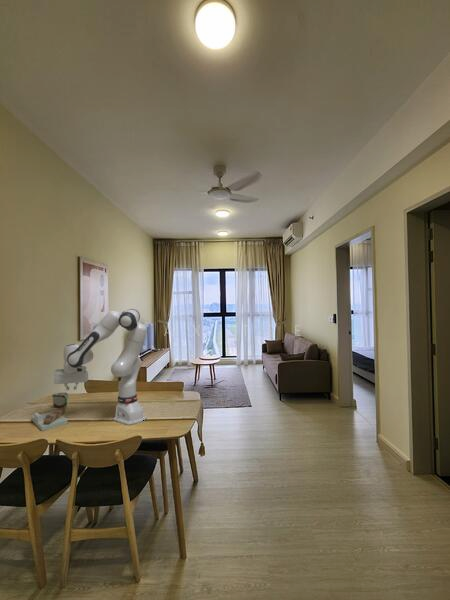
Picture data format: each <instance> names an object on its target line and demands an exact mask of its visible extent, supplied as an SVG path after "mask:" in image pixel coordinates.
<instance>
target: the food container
mask: <svg viewBox="0 0 450 600" xmlns="http://www.w3.org/2000/svg"><path fill="white" fill-rule="evenodd" d="M51 398H52V405H53V409H56V410H57V409H59V408H65V410H67V405H68V398H69V394H68V393H67V392H57V393H56V392H55V393H52V395H51Z"/></svg>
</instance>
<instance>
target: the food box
mask: <svg viewBox="0 0 450 600" xmlns="http://www.w3.org/2000/svg"><path fill="white" fill-rule="evenodd" d="M56 410H57V409H55V410H51V411H47V412H44V413H38V412H35V413H34V414H33V415H32V416H31V421H32V422H33V423H34V424H35V425H36V426H37V428H38V429H39V430H40V431H41V432H44V431H49V430H51V429H54V428H58V427H62V426H65V425H68V424H69V423H68V421H69V420H68V418H66V417H64V416H63V415H62V416H60V417H59V418H57V419H56V420H55V421H53V422H52V423H50V424H44V418H45V417H46V416H47V415H50V414H51V413H53V412H54V411H56Z"/></svg>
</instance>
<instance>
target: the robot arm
mask: <svg viewBox="0 0 450 600" xmlns="http://www.w3.org/2000/svg"><path fill="white" fill-rule="evenodd" d="M140 318H141V314H140V312H139V311H138V310H137V309H134V308H129V309H126V310H124V311H122V312H119V311H118V310H110V311H109V312H107V313H106V314H105V315H104V316H103V317H102V319H101V320H100V321H99V322H98V323H97V324H96V326H95V328H94V329H93V330H92V331H91V332H90V334H89V335H87V337H86V338H85V339H84V340H83V341H82V343H81V344H78V343H72V344H68V345H66V346H65V347H64V349H63V360H64V361H63V368H61V369H55V370H54V372H53V376H54V379H53V384H54V385H60V384H61V385H62V384H63V385H64V386H65V390H66V391H70V386H68V384H75V386H73V390H74V391H75V390H77V386H78V385H79V384H80V383H87V382H88V381H89V373H88V370H87V366H85V364H87V363H90V362H91V361H93V359H94V353H93V351H92V350H91V349H92V348H93V347H94V346H95V345H97V344H99V342H101V341H104V340H106V339H108V338H109V337H111V336H113V334H114V333H115V331H116V330H117V329H118V327H119V326H121V328H123V329H124V330H126V331H128V335H127V339H126V342H125V344H124V347H123V349H122V351H121V353H120V355H119V356H118V357H117V359H116V360H115V362H114V363H113V364H112V365H111V367H110V372H111V374H112V375H113V376H114V377H116V378H120V381H119V383H118V385H117V386H118V395H117V405H116V406H115V416H114V418H113V421H114V422H115V421H116V422H118V423H121V424H124V425H128V426H129V425H136V424H139V423H142V422H144V421H146V420H147V419H148V417H147V415H145V414H144V406H141V404H140V403H139V401H138V399H139V397H138V395H137V379H138V375H139V371H140V369H141V367H142V366H143V365H142V364H143V363H142V359H141V358H140V357H139V355H140V354H141V353H142V350H143V347H144V343H145V340H146V337H147V332H148V327H147V326H146V325H145V324H144V323H141V322H140ZM146 418H147V419H146ZM145 419H146V420H145ZM143 420H144V421H143Z"/></svg>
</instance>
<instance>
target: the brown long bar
mask: <svg viewBox="0 0 450 600" xmlns="http://www.w3.org/2000/svg"><path fill="white" fill-rule="evenodd" d="M55 410H56V411H55ZM55 410H53V411H54V412H53V413H51V414H50V415H47V416H46V417H45V418H44V424H50V423H52V422H53V421H55V420H56V419H57V418H59V417H60V416H63V415H64V414H66V409H65V408H59V409H57V408H56V409H55Z"/></svg>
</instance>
